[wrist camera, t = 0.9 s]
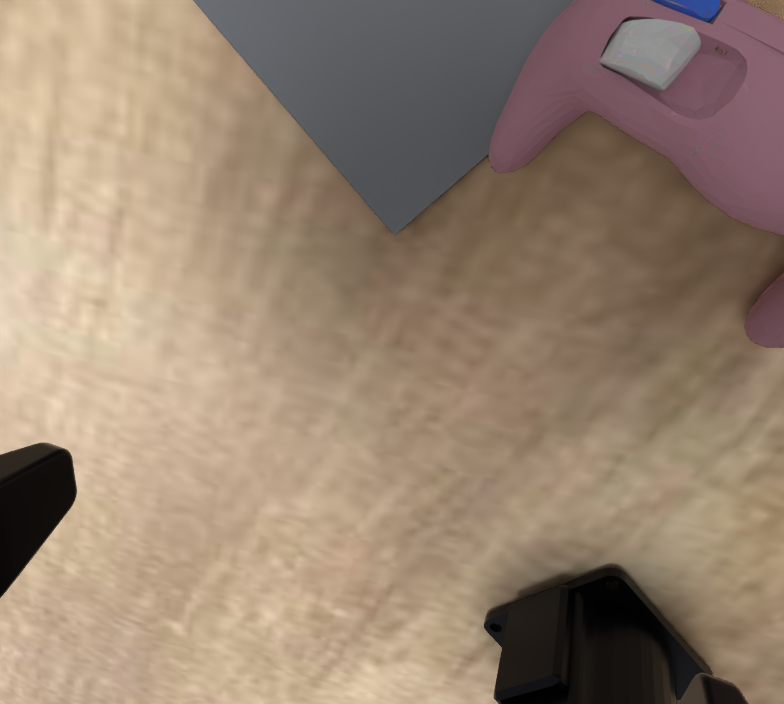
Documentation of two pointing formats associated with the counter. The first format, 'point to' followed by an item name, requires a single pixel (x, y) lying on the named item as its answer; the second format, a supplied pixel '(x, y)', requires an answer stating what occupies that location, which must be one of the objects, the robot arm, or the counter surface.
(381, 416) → the counter surface
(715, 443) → the counter surface
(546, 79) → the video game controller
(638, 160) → the counter surface
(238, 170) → the counter surface
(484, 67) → the mat
